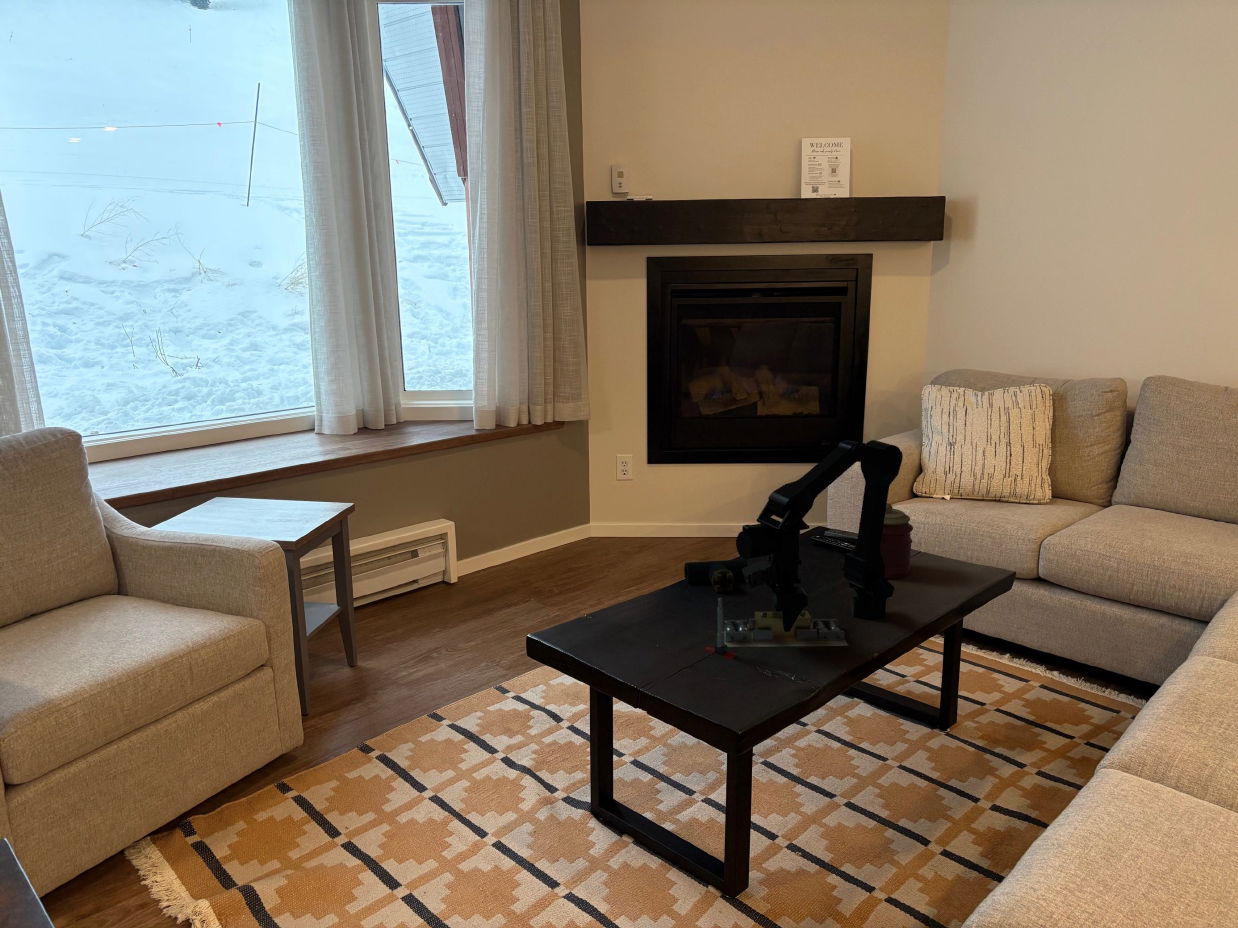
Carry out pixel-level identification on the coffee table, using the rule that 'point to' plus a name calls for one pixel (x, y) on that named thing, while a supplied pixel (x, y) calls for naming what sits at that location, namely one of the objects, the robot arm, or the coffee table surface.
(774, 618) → the tapered knobbed panel
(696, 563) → the pipe connector
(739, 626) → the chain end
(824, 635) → the chain end
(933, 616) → the coffee table surface
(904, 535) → the canister
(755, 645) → the board
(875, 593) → the robot arm
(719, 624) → the gray post stand
